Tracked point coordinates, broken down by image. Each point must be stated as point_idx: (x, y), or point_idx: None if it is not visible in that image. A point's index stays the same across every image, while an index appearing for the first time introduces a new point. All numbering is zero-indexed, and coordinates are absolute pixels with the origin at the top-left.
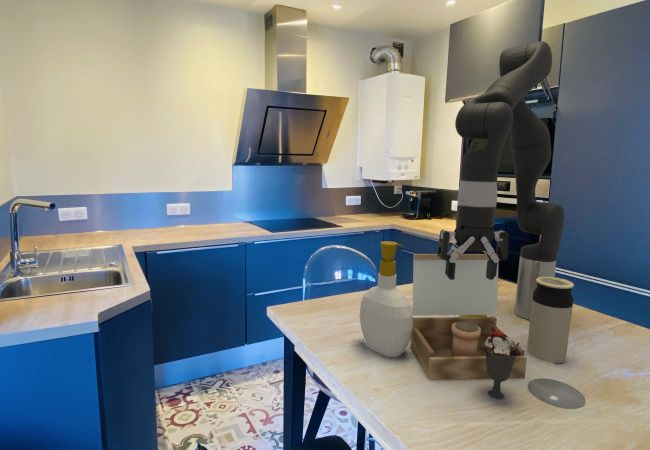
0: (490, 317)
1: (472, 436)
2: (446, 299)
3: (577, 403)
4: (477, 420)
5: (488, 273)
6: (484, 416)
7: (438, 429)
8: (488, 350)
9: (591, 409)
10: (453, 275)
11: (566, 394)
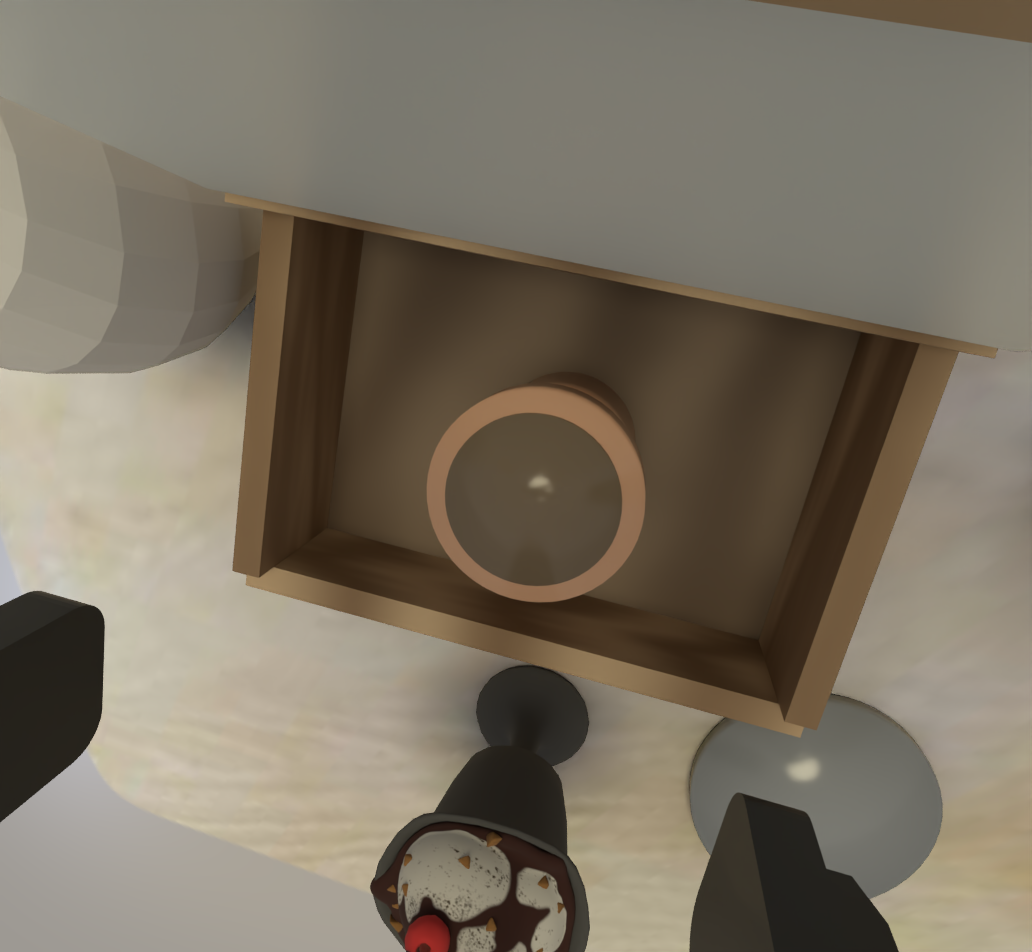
0: None
1: (310, 841)
2: (459, 213)
3: None
4: (371, 792)
5: (724, 935)
6: (409, 785)
7: (221, 780)
8: (387, 903)
9: (872, 903)
10: (14, 789)
11: (844, 836)
